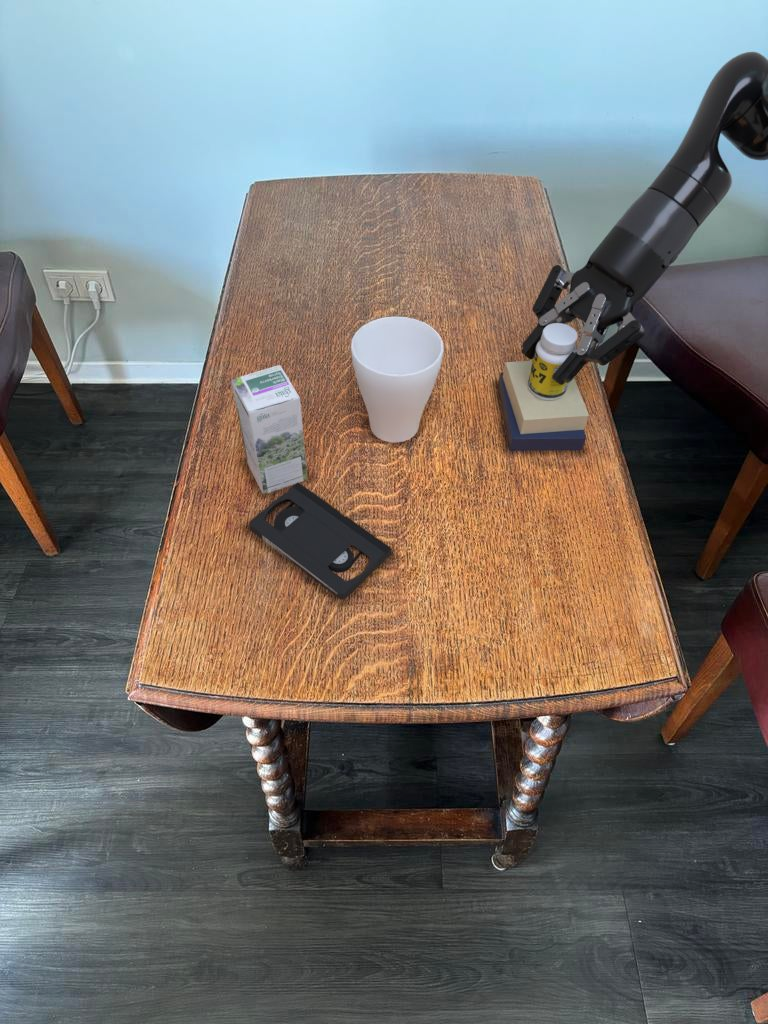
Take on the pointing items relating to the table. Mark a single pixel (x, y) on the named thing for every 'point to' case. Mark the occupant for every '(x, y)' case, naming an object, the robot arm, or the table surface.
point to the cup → (396, 373)
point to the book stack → (540, 414)
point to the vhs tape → (319, 540)
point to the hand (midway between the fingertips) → (541, 368)
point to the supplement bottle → (551, 360)
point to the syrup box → (271, 428)
